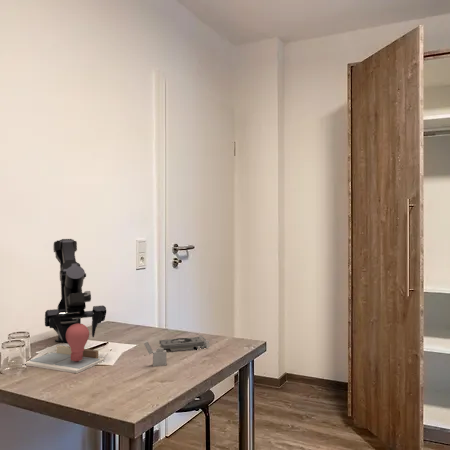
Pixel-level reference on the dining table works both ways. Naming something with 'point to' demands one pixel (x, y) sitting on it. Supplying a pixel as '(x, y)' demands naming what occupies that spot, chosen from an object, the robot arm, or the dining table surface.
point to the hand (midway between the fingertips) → (78, 338)
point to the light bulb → (77, 340)
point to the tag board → (66, 360)
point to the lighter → (156, 355)
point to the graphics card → (185, 343)
